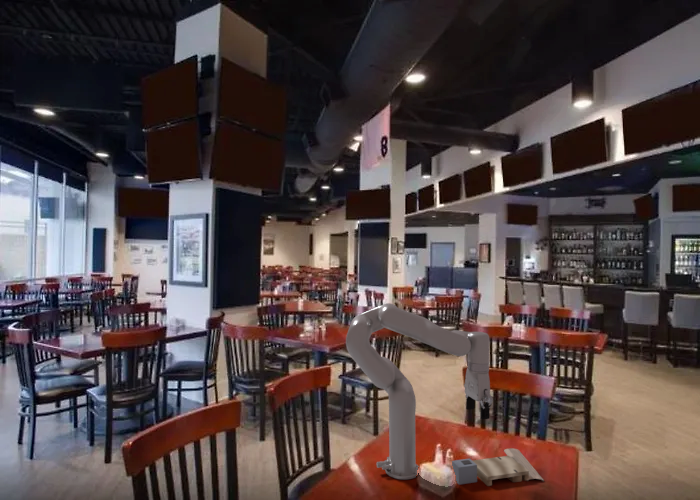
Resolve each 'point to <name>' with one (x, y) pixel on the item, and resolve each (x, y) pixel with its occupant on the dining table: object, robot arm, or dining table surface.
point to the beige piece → (523, 463)
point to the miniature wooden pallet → (500, 469)
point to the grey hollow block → (465, 471)
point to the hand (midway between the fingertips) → (477, 413)
